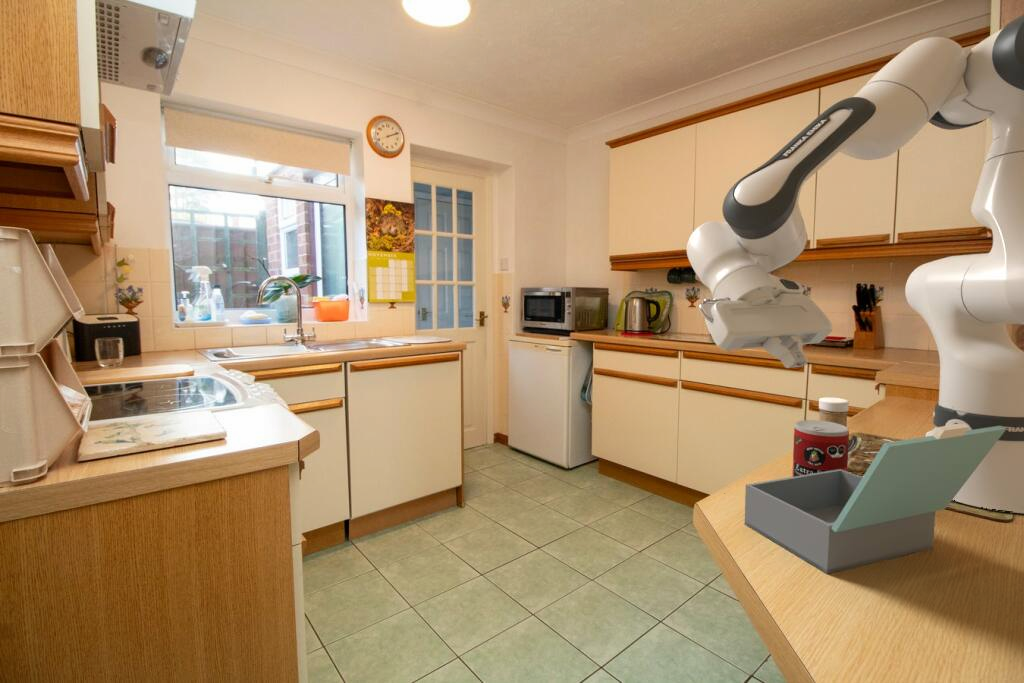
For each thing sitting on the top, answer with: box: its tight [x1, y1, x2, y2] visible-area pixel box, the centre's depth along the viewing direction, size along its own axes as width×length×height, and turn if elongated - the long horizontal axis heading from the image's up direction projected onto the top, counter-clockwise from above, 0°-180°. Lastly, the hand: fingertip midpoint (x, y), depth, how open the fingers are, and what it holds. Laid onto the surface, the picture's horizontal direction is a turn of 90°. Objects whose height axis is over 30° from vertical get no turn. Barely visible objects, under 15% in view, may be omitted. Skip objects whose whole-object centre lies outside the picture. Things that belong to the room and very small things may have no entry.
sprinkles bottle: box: [818, 396, 850, 427], centre depth 89 cm, size 5×5×14 cm
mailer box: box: [744, 469, 936, 575], centre depth 65 cm, size 18×13×6 cm
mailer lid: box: [831, 423, 1006, 532], centre depth 55 cm, size 18×14×1 cm
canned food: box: [792, 419, 850, 477], centre depth 80 cm, size 8×8×11 cm
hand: (798, 364), depth 70 cm, fingers closed
